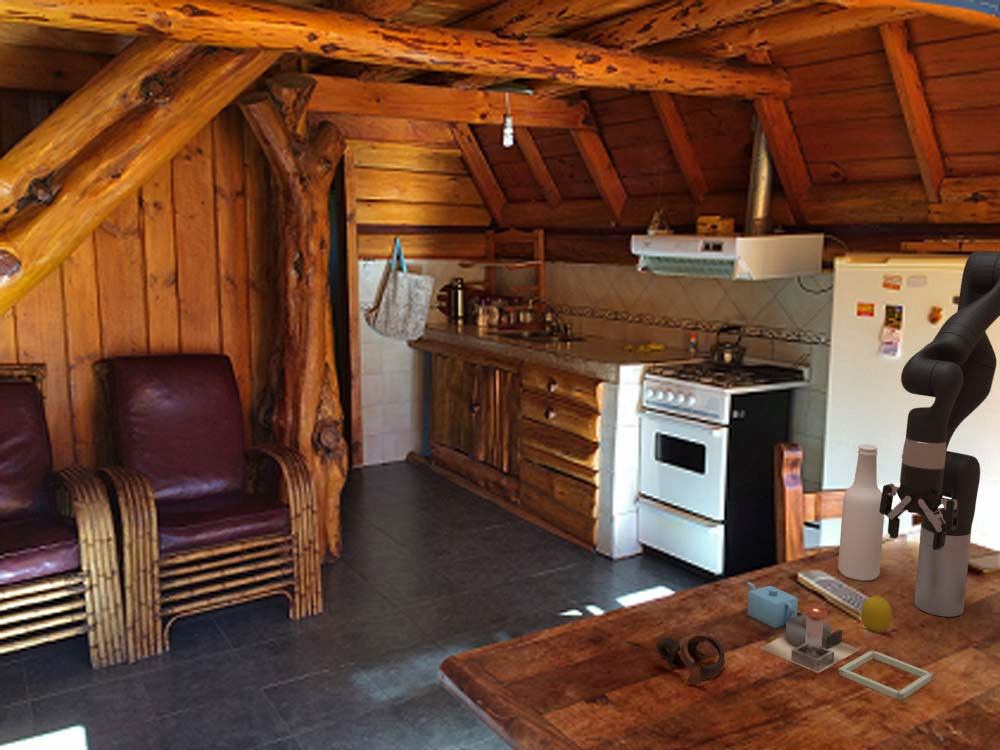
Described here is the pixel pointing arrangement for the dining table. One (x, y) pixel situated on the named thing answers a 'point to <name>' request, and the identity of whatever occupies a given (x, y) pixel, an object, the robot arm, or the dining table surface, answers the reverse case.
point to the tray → (898, 695)
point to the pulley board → (794, 646)
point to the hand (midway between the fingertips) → (914, 543)
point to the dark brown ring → (684, 651)
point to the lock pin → (814, 628)
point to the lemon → (876, 614)
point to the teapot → (771, 605)
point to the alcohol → (862, 521)
